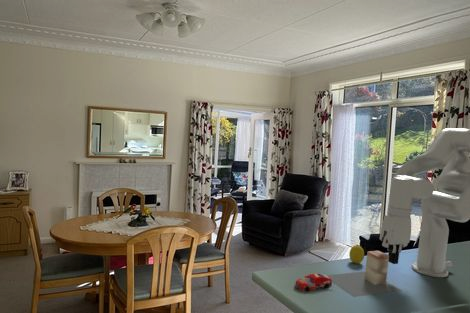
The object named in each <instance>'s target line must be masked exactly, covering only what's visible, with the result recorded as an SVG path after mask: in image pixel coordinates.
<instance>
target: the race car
mask: <svg viewBox="0 0 470 313" xmlns="http://www.w3.org/2000/svg"><path fill="white" fill-rule="evenodd" d="M332 285H333V282H332V281H331V278H330V277H328V276H326V275H325V274H321V273H311V274H308V275H304V277H302V278H301V277H300V278H299V279H297V280H296V281H295V288H296V289H298V290H300V291H304V292H306V293H307V292H309V291H315V290H321V289H328V288H329V287H332Z"/></svg>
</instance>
